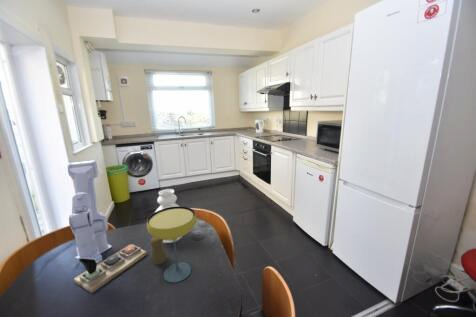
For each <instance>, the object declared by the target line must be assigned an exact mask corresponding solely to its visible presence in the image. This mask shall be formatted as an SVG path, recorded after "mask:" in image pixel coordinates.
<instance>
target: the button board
mask: <svg viewBox="0 0 476 317" xmlns="http://www.w3.org/2000/svg"><path fill="white" fill-rule="evenodd" d="M128 246H135V251H134V252H132V253H131V254H129V255H127V254H125V251H124V249H125V248H126V247H128ZM115 254H116V255H118V258H119V261H118V262H117V263H115V264H114V265H112V266H108V265H107V262H106V259H107V258H105V259H103V260H102V261H100V262H98V263H97V267H96V268H98V269H99V272H100V274H98V275H97V276H95V277H94V278H92V279H91V280H88V279H86V272H87V270H85V271H84V272H82V273H81V274H79V275H78V276H76V277H74V278H73V280H74V282H75V283H76V284H77V285H79V287H82V288H83V289H84V290H85V291H88V292H89V293H91V294H93V293H95V292H96V291H97V290H98V289H99V288H100V289H101V287H103V286H104V285H106V284H107V283H108V282H110V281H111V280H113V279H114V278H116V277H117V276H118V275H120V274H122V273H123V272H124V271H125V270H127V269H128V268H130V267H131V266H133V265H134V264H135V263H137V262H138V261H140V260H141V259H143V258H144V257H145V256H146V255H147V254H148V252H147V251H146V250H144V249H142V248H141V247H140V246H137V245H135V244H132V243H131V244H128V245H127V246H124V247H123V248H121V249H120V250H118V251H116V252H115V253H113V254H112V255H115Z"/></svg>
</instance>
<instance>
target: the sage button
mask: <svg viewBox="0 0 476 317" xmlns="http://www.w3.org/2000/svg"><path fill="white" fill-rule="evenodd" d="M98 274H100V272H99V269H98V268H96V271H95V272H94V273H92V274H89V273H88V272H86V279H88V280H91V279H92V278H94V277H95V276H97V275H98Z"/></svg>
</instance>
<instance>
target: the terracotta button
mask: <svg viewBox="0 0 476 317" xmlns="http://www.w3.org/2000/svg"><path fill="white" fill-rule="evenodd" d="M127 246H128V245H127ZM127 246H125V247H126V248H125V247H124V248H125V249H124V251H125V254H127V255H129V254H131V253H132V252H134V251H135V246H136V245H135V246H128V247H127Z"/></svg>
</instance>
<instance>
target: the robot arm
mask: <svg viewBox="0 0 476 317" xmlns="http://www.w3.org/2000/svg"><path fill="white" fill-rule="evenodd" d="M67 172H68V176H69V177H70V178H71V180H74V185H75V195H73V196H72V199H71V202H72V203H71V214H70V215H69V216H68V224H69V228H70V229H71V231H72V234H73V236H74V239H75V242H76V243H75V244H76V247H75V252H76V253H77V256H75V259H76V260H77V261H79V263H81V264H82V265H83V266H84V268H85V269H86V270H85V271H87V272H88V273H89V274H92V273H94V272H95V271H96V267H97V264H99V263H100V262H102V261H103V256H102V255H101V254H102V253H104V252H106V251H108V250H110V249H112V248H113V246H112V245H110V244H109V243H108V239H107V233H106V231H107V230H108V229H109V228H108V227H109V223H108V222H109V221H108V219H107V215H106V214H105V213H104V212H101V211H99V208H98V202H97V196H96V190H95V182H94V181H95V178H98V176H99V170H98V164H97V161H95V160H93V159H92V160H87V161H79V162H78V161H77V162H69V163H68V165H67Z"/></svg>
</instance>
